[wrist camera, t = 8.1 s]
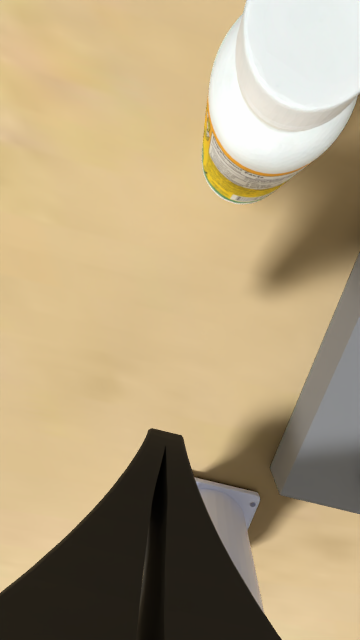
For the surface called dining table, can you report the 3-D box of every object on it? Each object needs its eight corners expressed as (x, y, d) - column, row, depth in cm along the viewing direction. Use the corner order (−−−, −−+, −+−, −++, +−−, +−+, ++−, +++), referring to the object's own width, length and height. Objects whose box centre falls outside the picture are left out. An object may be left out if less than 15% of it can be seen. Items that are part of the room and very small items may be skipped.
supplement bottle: (243, 223, 17) (310, 184, 7) (182, 163, 16) (171, 36, 7) (307, 153, 15) (482, 1, 6) (244, 85, 15) (336, -204, 5)
